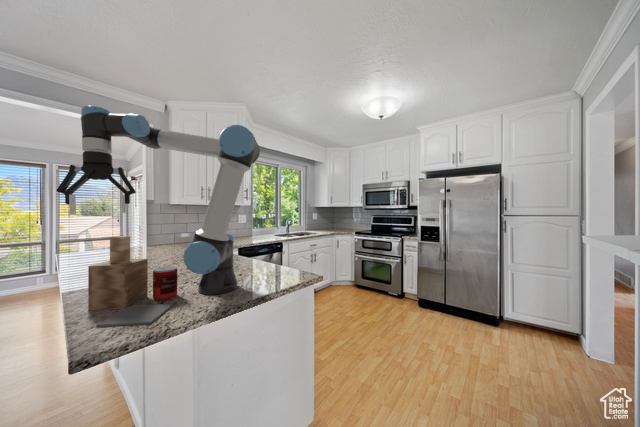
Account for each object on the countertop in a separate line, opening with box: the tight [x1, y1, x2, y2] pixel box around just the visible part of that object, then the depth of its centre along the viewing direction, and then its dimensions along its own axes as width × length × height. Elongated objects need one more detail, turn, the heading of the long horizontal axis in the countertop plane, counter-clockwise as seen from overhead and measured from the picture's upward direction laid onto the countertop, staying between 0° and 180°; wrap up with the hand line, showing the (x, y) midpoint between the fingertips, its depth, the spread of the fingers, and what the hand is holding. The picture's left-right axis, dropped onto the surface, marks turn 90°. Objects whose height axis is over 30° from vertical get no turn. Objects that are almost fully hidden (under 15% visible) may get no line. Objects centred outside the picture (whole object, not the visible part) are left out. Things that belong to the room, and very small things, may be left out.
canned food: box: [152, 265, 178, 302], centre depth 90 cm, size 8×8×11 cm
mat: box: [95, 303, 175, 328], centre depth 75 cm, size 14×14×1 cm
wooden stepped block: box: [87, 235, 149, 311], centre depth 85 cm, size 12×12×24 cm
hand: (99, 213), depth 84 cm, fingers open, 13 cm apart
